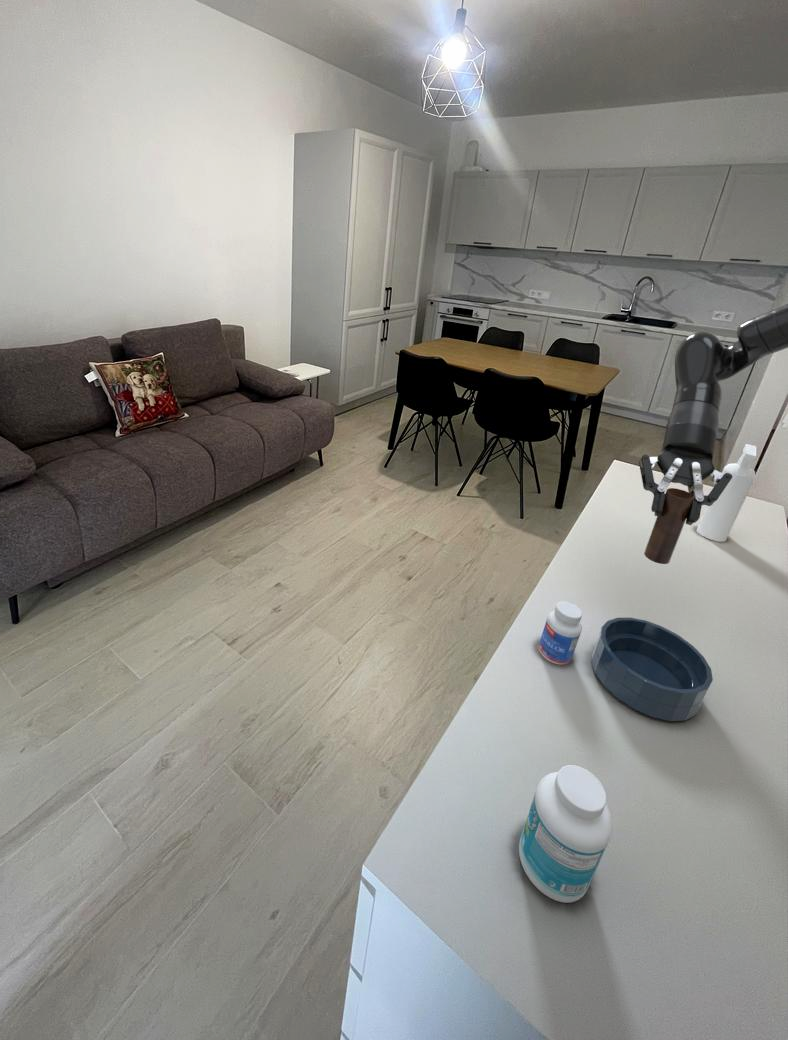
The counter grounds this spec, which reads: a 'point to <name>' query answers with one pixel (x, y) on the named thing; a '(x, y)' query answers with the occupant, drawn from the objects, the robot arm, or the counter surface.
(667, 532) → the brown wooden dowel
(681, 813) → the counter surface
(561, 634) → the pill bottle
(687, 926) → the counter surface
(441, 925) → the counter surface
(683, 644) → the bowl
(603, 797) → the pill bottle
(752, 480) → the white spray bottle
